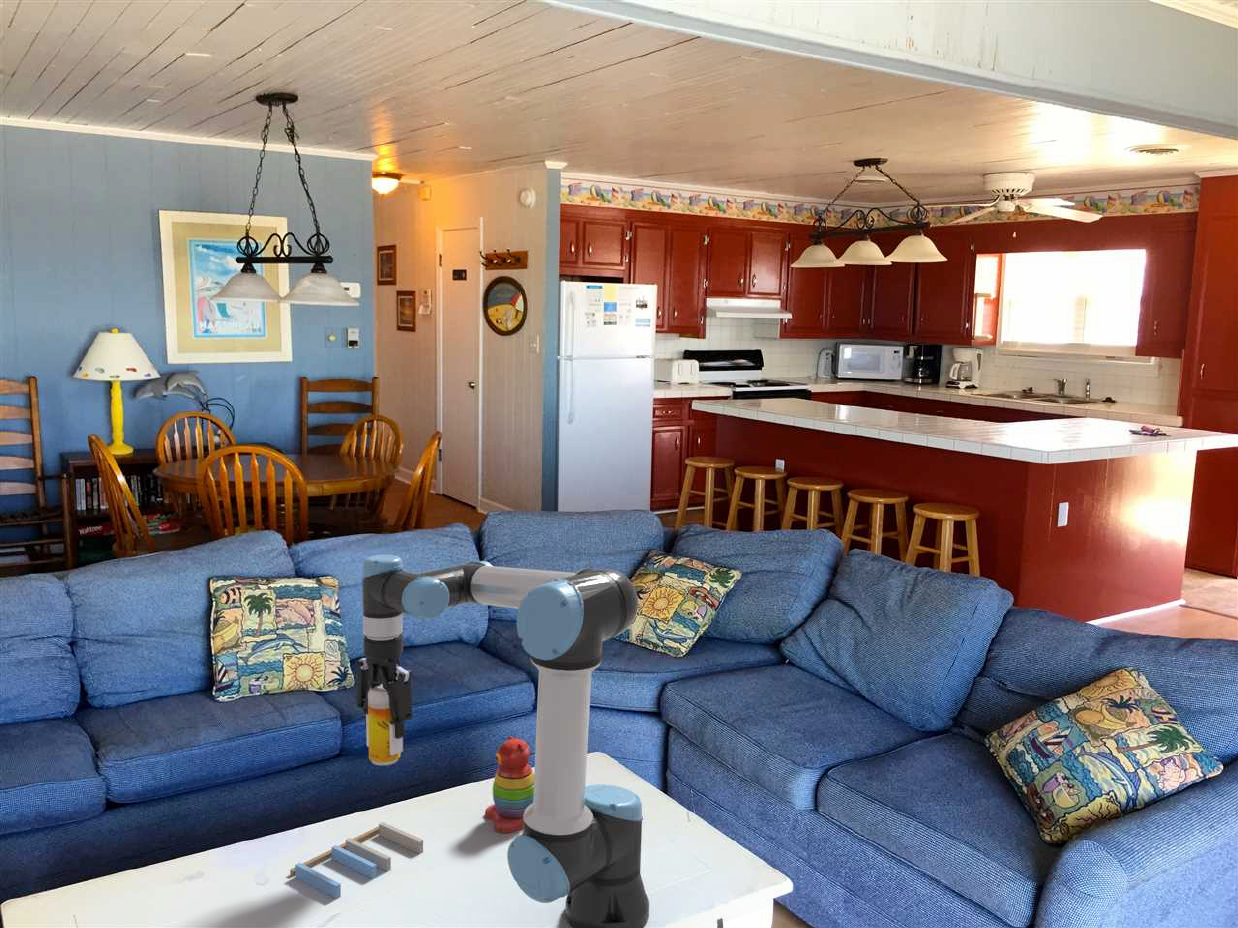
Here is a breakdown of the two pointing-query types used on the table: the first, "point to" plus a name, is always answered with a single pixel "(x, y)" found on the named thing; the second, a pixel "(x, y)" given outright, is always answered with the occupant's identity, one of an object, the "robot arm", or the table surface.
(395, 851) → the table surface
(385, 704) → the beer can
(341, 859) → the rack
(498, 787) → the stacking bear
